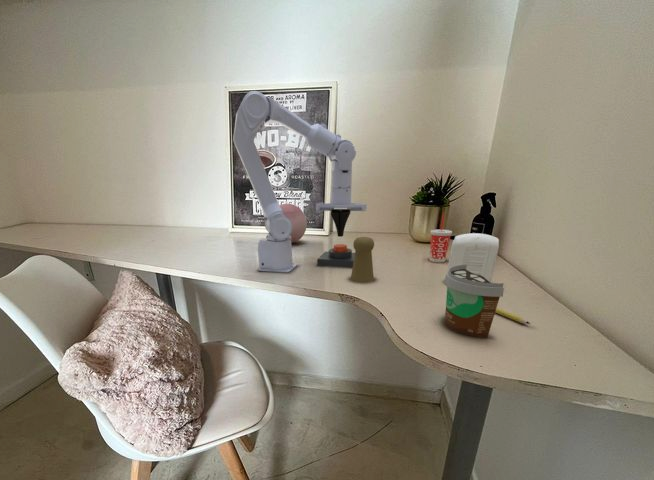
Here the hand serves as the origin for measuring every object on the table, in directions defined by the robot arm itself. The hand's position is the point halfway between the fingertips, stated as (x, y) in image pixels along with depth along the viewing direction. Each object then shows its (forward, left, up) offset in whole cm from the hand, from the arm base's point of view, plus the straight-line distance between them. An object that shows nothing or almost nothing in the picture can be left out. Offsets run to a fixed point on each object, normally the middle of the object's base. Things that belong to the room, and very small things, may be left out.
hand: (340, 236), depth 100 cm
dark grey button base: (0, 0, -8) cm, 8 cm away
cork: (+9, -15, -8) cm, 19 cm away
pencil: (+38, -31, -8) cm, 50 cm away
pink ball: (-26, +25, -8) cm, 37 cm away
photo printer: (+35, -13, -8) cm, 38 cm away
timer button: (0, 0, -5) cm, 5 cm away
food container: (+30, -39, -8) cm, 50 cm away
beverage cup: (+29, +9, -8) cm, 32 cm away
